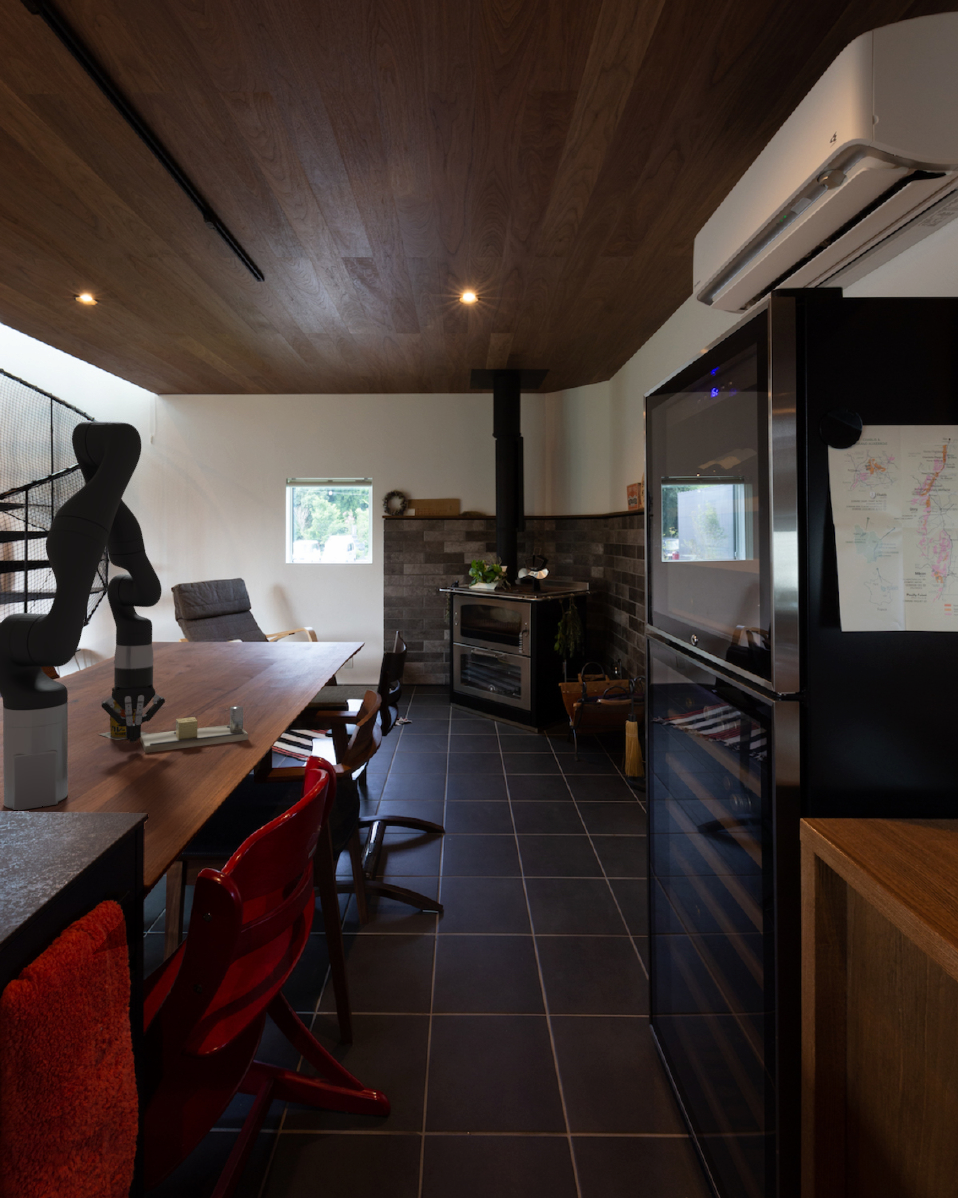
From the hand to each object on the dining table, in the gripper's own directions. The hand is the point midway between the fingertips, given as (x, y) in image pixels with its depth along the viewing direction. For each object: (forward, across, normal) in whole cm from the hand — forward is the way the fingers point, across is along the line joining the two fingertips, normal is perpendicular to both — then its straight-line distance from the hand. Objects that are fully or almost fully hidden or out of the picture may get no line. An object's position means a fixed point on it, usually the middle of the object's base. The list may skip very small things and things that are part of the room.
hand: (133, 740), depth 136 cm
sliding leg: (+1, +11, +2) cm, 11 cm away
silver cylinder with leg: (+1, +22, +3) cm, 22 cm away
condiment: (+3, -1, +16) cm, 16 cm away
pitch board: (+2, +13, +3) cm, 13 cm away
